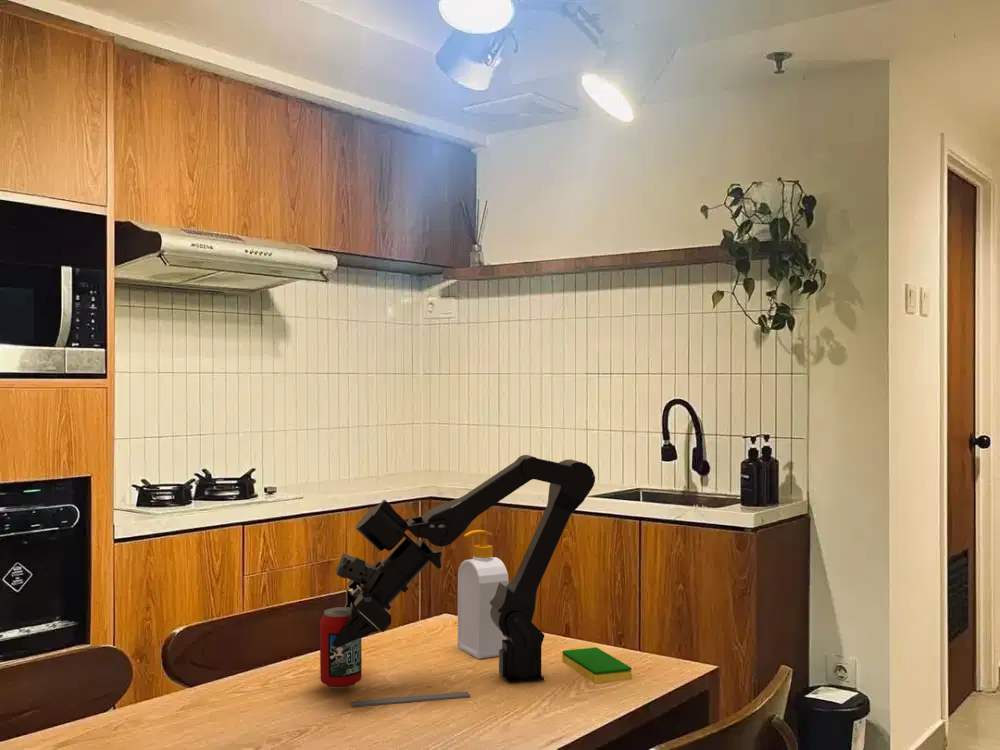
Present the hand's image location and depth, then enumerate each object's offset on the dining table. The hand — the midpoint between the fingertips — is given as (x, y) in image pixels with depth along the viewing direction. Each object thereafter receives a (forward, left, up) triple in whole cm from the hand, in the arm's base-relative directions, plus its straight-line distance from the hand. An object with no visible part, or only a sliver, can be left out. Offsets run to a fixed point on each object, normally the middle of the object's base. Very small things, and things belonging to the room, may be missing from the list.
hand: (332, 640), depth 159 cm
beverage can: (-1, 0, -7) cm, 8 cm away
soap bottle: (-29, -16, -8) cm, 34 cm away
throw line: (-12, +8, -8) cm, 16 cm away
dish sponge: (-46, 0, -9) cm, 47 cm away
